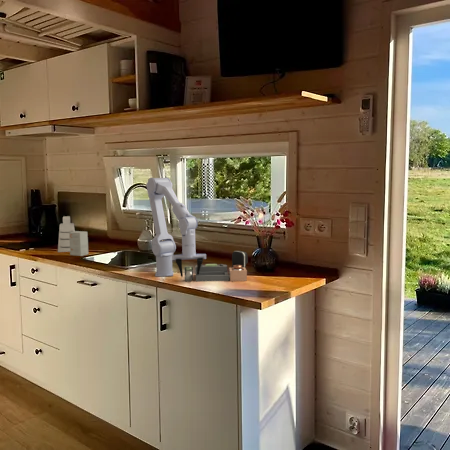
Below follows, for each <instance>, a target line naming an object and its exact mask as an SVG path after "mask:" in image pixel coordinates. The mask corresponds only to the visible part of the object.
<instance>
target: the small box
mask: <svg viewBox="0 0 450 450" xmlns="http://www.w3.org/2000/svg"><path fill="white" fill-rule="evenodd" d="M88 236H89V235H88V231H85V230H84V231H83V230H82V231H81V230H80V231H79V230H75V231H74V232H69V240H70V252H69V255H70V256H76V257H77V256H78V257H79V256H80V257H84V256H87V255H89V237H88Z"/></svg>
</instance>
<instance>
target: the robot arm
mask: <svg viewBox="0 0 450 450" xmlns="http://www.w3.org/2000/svg"><path fill="white" fill-rule="evenodd" d="M146 190H147V196H148V198H149V204H150V205H149V206H150V209H151V216H152V220H153V226H154V232H155V235H154V237H153V238H152V240H151V245H152V246H151V251H152V253H153V255H154V257H155V261H156V262H155V263H156V265H155V266H156V269H155V270H156V271H155V273H154V274H155V275H154V276H155V277H173V276H174V270H173V261H175V263H176V265H177V267H178V269H179V272H180V273H179V274H180V277H181V278H182V277H184V276H183V275H184V274H183V261H182V260H196V265H197V275H199V271H200V267H201V264H202V265H203V262H204V260H206V259H207V254H206V253H197V252H196V249H197V248H196V247H197V246H196V229H197V228H198V226H199V221H198V219H197V217H196V216H195V215H193V214H191V213H190V212H189V210H188V208H187V207H186V205H185V203H183V202H180V200H179V199H178V196H177V195H176V192H175V191H174V189H173V182H172V180H171V178H170V177H150V178H149V179H148V180H147V182H146ZM164 197H165V198H166V199H167V201H168V202H169V203H170V205H171V206H172V209H171V211H172V213H173V214H174V216H175V218H176V219H177V221H178V228H179V230H180V235H181V247H182V248H181V249H182V251H181V254H174V253H175V252H176V249H177V245H176V243H175V240H174V237H173V235H171V234H170V233H169V232H168V227H167V223H166V216H165V212H164V205H163V202H162V201H163V200H162V199H163V198H164Z"/></svg>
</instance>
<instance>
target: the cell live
mask: <svg viewBox="0 0 450 450" xmlns="http://www.w3.org/2000/svg"><path fill="white" fill-rule="evenodd" d="M183 268H184V281H185V282H188V283H189V282H192V281H193V280H194V266H192V265H185V266H184V267H183Z"/></svg>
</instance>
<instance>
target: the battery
mask: <svg viewBox="0 0 450 450" xmlns="http://www.w3.org/2000/svg"><path fill="white" fill-rule="evenodd" d="M248 258H249V257H248V253H247V251H241V250H234V251H233V252H232V255H231V263H232V264H231V266H232V267H231V268H233V265H242V267H245V268H246V269H247V267H246V266H247V264H248V262H249V259H248Z"/></svg>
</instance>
